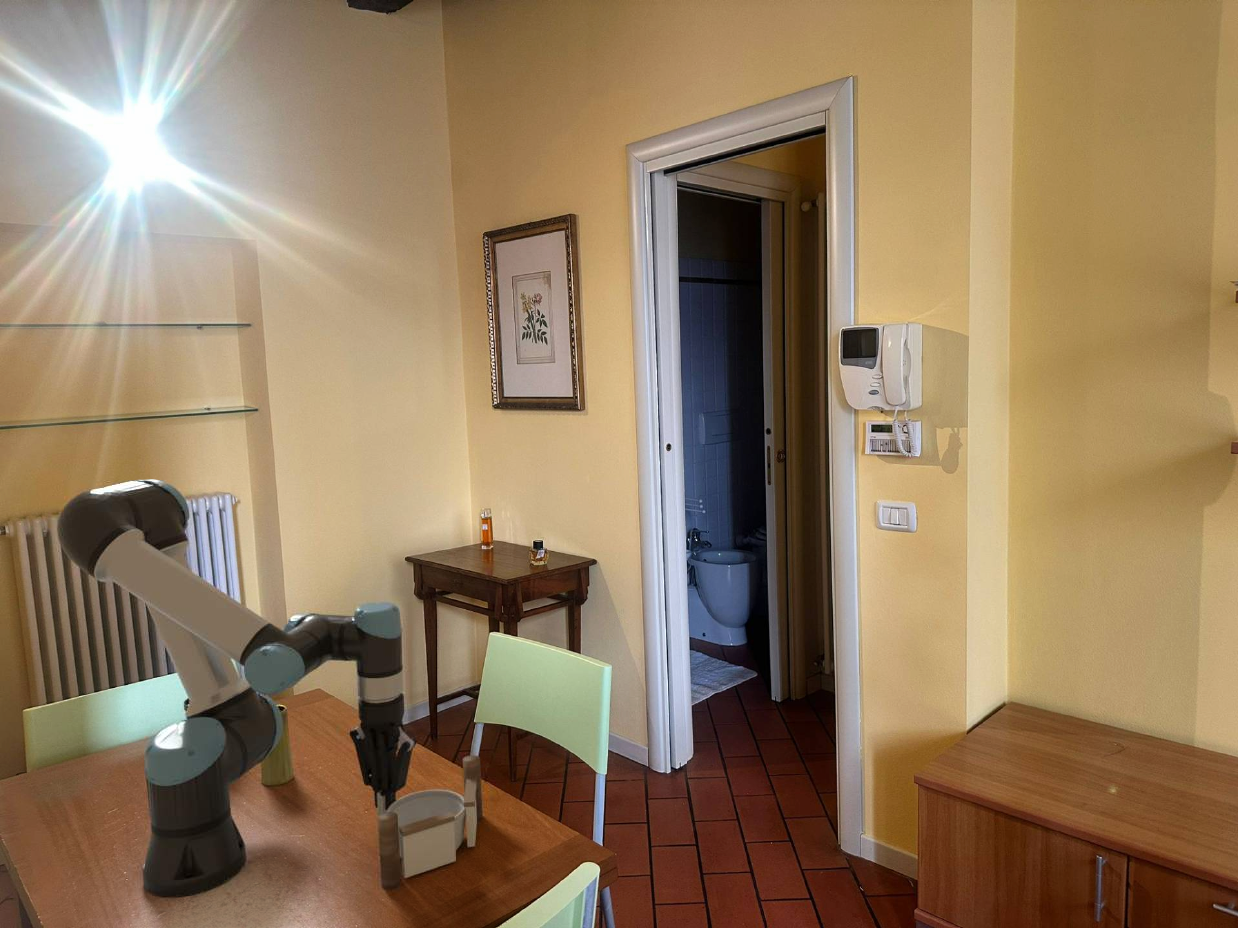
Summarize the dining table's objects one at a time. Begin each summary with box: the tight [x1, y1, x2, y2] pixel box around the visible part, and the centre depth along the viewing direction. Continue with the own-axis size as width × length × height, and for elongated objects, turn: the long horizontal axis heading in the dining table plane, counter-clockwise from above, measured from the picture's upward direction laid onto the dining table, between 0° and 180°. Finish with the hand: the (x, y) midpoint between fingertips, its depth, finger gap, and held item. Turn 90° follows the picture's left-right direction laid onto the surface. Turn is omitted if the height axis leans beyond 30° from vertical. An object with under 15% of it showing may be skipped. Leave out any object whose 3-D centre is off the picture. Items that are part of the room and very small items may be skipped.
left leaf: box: [399, 812, 457, 879], centre depth 142 cm, size 8×2×8 cm, turn 123°
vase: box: [260, 704, 295, 787], centre depth 176 cm, size 6×6×14 cm
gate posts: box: [377, 754, 484, 890], centre depth 149 cm, size 25×3×11 cm, turn 154°
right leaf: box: [463, 778, 478, 848], centre depth 153 cm, size 8×2×8 cm, turn 7°
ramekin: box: [387, 789, 466, 859], centre depth 150 cm, size 13×13×7 cm
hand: (386, 825), depth 154 cm, fingers closed
